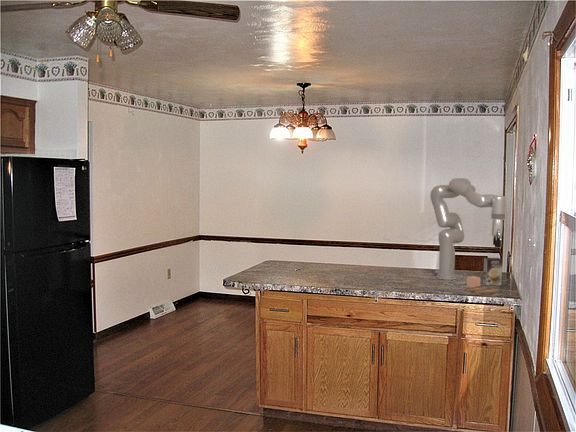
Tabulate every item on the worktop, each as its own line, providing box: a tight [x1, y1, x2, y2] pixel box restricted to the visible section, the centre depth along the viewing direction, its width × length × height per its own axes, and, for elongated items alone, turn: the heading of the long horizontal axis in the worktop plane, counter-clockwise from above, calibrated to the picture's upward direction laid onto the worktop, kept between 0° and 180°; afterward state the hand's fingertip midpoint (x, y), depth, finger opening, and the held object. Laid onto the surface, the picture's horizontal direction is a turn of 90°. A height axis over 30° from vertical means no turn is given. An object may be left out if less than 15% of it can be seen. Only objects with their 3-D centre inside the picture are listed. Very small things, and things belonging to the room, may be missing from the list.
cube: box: [466, 275, 481, 288], centre depth 333 cm, size 6×6×6 cm
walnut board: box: [464, 285, 502, 296], centre depth 319 cm, size 14×14×1 cm
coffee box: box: [482, 257, 503, 286], centre depth 338 cm, size 9×6×16 cm
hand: (496, 246), depth 323 cm, fingers open, 9 cm apart
